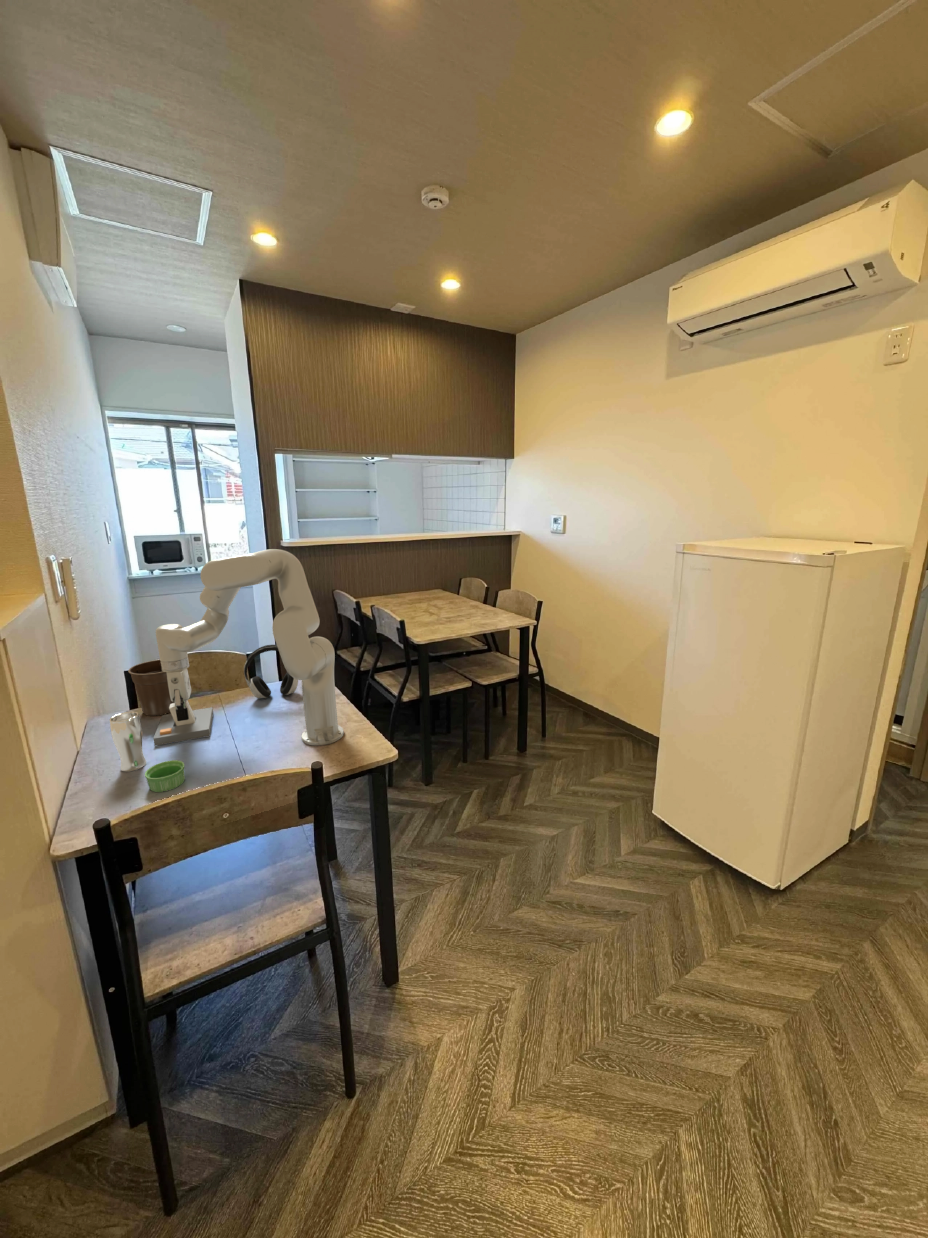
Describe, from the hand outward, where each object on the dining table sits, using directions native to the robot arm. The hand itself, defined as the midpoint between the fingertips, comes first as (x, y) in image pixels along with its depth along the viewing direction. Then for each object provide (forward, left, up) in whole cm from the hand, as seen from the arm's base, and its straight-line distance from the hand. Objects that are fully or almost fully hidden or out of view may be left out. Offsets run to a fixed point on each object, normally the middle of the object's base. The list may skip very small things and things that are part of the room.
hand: (183, 717), depth 161 cm
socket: (0, 0, -4) cm, 4 cm away
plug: (0, -1, -3) cm, 3 cm away
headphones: (+16, -28, -4) cm, 33 cm away
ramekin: (-34, +1, -4) cm, 34 cm away
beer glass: (-20, +11, -4) cm, 23 cm away
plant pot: (+21, +9, -4) cm, 23 cm away
